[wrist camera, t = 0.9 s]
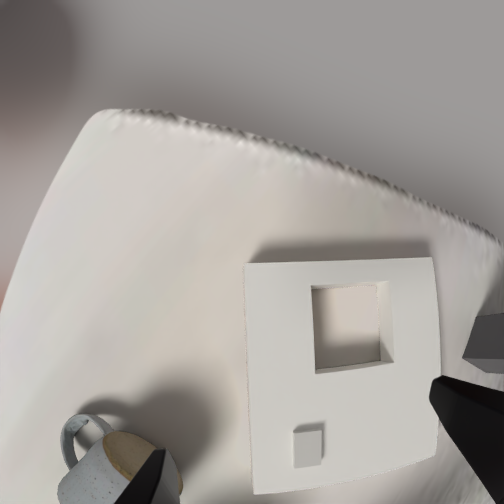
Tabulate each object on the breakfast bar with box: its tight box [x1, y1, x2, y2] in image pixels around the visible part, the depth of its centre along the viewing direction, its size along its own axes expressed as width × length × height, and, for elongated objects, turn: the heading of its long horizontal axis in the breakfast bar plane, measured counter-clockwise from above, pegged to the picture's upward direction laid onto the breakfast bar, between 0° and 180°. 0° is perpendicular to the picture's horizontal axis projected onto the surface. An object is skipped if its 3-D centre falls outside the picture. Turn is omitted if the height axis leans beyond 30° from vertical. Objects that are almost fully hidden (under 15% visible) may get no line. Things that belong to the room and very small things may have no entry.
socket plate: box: [243, 257, 441, 495], centre depth 22 cm, size 18×16×3 cm
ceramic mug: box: [57, 414, 183, 504], centre depth 17 cm, size 11×8×8 cm
